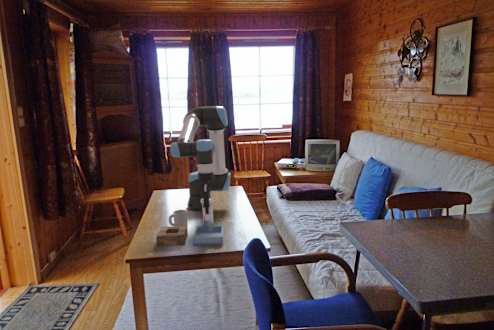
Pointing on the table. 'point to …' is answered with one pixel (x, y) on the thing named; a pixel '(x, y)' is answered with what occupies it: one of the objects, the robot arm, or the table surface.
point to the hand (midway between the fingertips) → (208, 217)
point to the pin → (209, 224)
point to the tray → (208, 236)
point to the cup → (179, 218)
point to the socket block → (172, 236)
